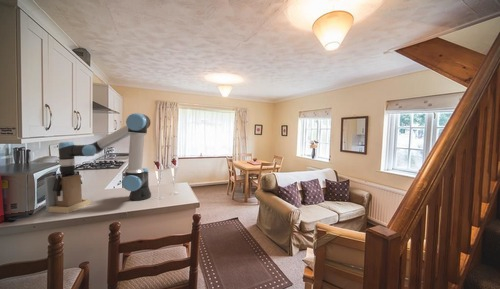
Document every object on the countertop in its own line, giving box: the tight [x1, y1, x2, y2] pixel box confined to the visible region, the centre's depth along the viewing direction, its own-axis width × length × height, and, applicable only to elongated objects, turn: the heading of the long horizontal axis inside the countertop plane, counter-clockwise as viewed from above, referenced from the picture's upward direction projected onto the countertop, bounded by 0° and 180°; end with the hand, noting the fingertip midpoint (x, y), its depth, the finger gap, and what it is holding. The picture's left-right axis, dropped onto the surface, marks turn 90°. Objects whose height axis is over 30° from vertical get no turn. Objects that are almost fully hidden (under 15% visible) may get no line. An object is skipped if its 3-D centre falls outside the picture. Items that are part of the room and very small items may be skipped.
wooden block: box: [54, 174, 83, 207], centre depth 135 cm, size 10×10×20 cm
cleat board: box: [43, 174, 91, 214], centre depth 135 cm, size 16×16×22 cm
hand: (69, 197), depth 135 cm, fingers closed on wooden block, 10 cm apart
